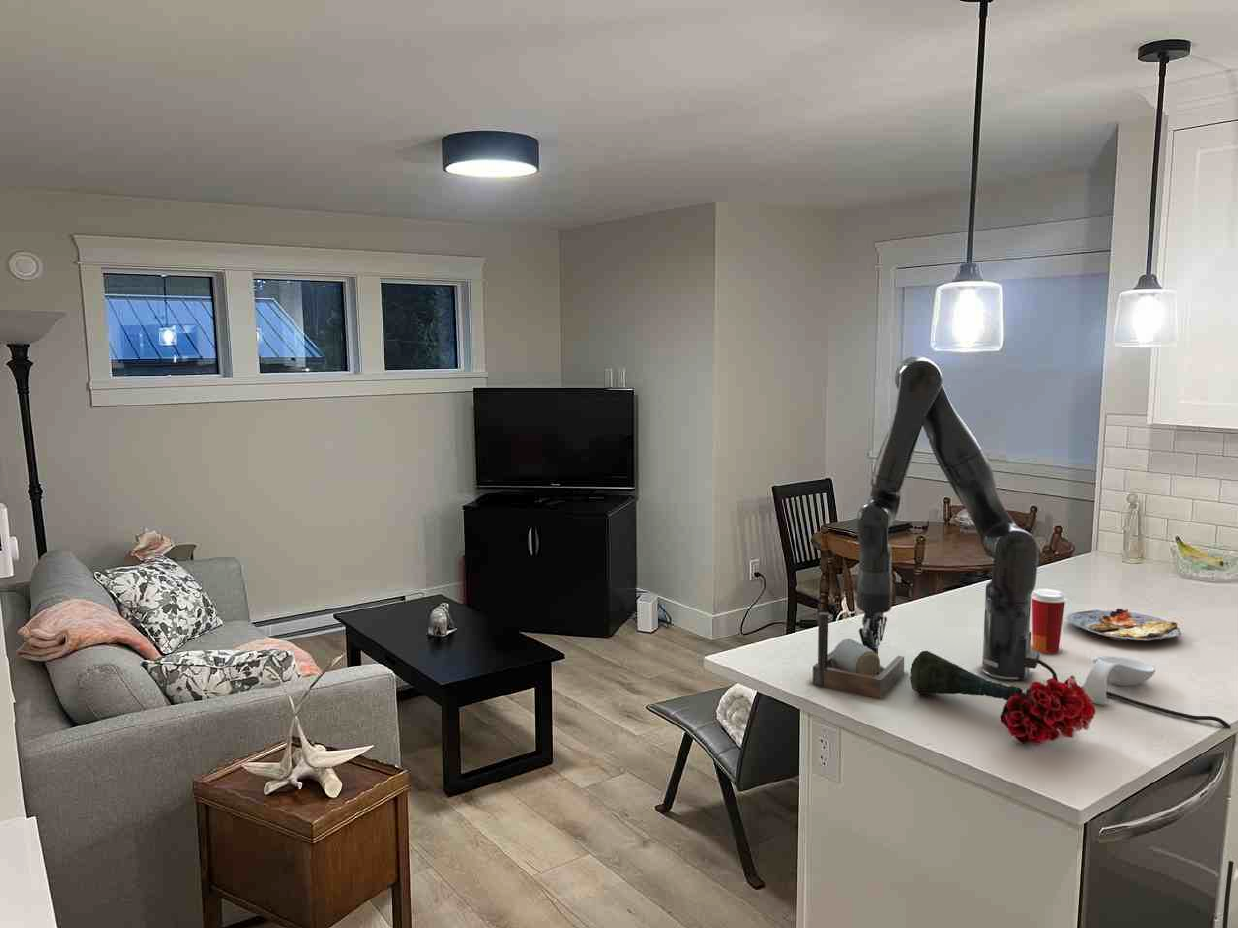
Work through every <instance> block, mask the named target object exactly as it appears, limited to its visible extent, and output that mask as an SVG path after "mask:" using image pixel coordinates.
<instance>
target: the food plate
mask: <svg viewBox="0 0 1238 928" xmlns="http://www.w3.org/2000/svg"><path fill="white" fill-rule="evenodd" d="M1065 619H1066V620H1067V621H1068V622H1069V623H1070V624H1071V625H1073V626H1076V627H1078V628H1080V629H1083V630H1085V631H1086V632H1091V633H1093V634H1096V635H1099V636H1102V637H1105V638H1110V639H1112V640H1116V641H1122V640H1124V641H1127V639H1129V640H1132V641H1152V640H1163V639H1169V638H1177V637H1181V635H1182V633H1181V629H1180V628H1179V627H1178V623H1177V622H1175V621H1166V620H1163V619H1161V618H1159V617H1154V616H1152V615H1148V614H1141V613H1135V612H1132V611H1129V609H1127V608H1125V609H1123V608H1116V610H1111V609H1110V610H1108V609H1107V610H1101V609H1094V610H1093V609H1092V610H1083V611H1075V612H1071V613H1069V614H1066V616H1065Z"/></svg>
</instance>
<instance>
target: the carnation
mask: <svg viewBox="0 0 1238 928" xmlns="http://www.w3.org/2000/svg"><path fill="white" fill-rule="evenodd" d="M909 679H910V684H911V688H912V690H913V691H915V692H916V693H917V694H925V695H927V694H929V695H931V694H934V695H935V694H937V695H939V694H941V695H959V694H960V695H968V696H981V697H982V696H986V697H991V698H995V699H1002V700H1004V701H1006V702H1005V703H1004V704H1003V708H1002V711H1001V714H1000V717H999V718H1000V723H1001V724H1003V725H1004V726H1005V727H1006V729H1007V731H1008V733H1009V735H1010V736H1012V737H1014V738H1015V739H1016V740H1017V741H1018V742H1019V743H1021V744H1023V745H1025V744H1029V743H1032V744H1034V745H1039V744H1043V743H1046V742H1047V741H1053V742H1054V741H1055V740H1057V739H1059V738H1060V733H1061V734H1062V735H1063V736H1064V737H1066V738H1070V739H1073V738H1074V736H1073V734H1074V733H1076V732H1080V731H1082V730H1087V731H1088V730H1089V729H1090V724H1091V723H1092V720H1094V719H1095V716H1096V712H1097V711H1096V708H1095V706H1094V705H1093V704H1094V703H1093V701H1092V698H1091V696H1090V694H1089V693H1088V691H1087V688H1086V687H1085V686H1084V685H1083V686H1080V685H1078V683H1077V680H1076V677H1075V676H1074V675H1073V674H1072V675H1070V677H1069V678H1067V679H1065V680H1064V681H1063V682H1062V681H1061V682H1060V681H1059V682H1057V681H1056V680H1055V679H1054V677H1053V676H1052V677H1051V678H1048V679H1046V685H1045V684H1043V683H1041V682H1040V681H1032V683H1031V685H1030V687H1029V688H1027V689H1026V691H1025V692H1023V691H1024V690H1023V689H1022V688H1021V686H1020V687H1019V686H1014V685H1006V684H1005V685H1004V684H1002V683H1001V682H994V681H992V680H988V679H986V678H984V677H981V676H979V675H977V674H974V673H973V672H970V671H968V670H967V669H965V668H963V667H961V666H959V665H957V664H955V663H953V662H951V661H949V660H947V659H945V658H943V657H941V656H939V655H937V654H935V653H933V652H931V651H929V650H922V651H920V652H919V654H917V656H916V657H915V658H914V659H913V661H912V663H911V667H910V678H909Z"/></svg>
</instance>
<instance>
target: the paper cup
mask: <svg viewBox="0 0 1238 928" xmlns="http://www.w3.org/2000/svg"><path fill="white" fill-rule="evenodd" d="M1066 602H1067V598H1066V595H1065V593H1064V592H1062V591H1060V590H1057V589H1051V588H1038V589H1034V590H1033V592H1032V595H1031V624H1032V625H1031V643H1032V651H1035V652H1039V654H1045V655H1054V654H1058V653H1059V651H1060V644H1061V643H1060V642H1061V637H1062V636H1061V635H1062V630H1063V629H1062V628H1063V620H1064V611H1065V604H1066Z"/></svg>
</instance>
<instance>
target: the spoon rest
mask: <svg viewBox="0 0 1238 928" xmlns="http://www.w3.org/2000/svg"><path fill="white" fill-rule="evenodd" d="M1092 663H1093V665H1092V667H1091V669H1090V671H1089V673H1088V676H1087V677H1086V680H1085V682H1084V685H1083V686H1085V687H1086V688H1087V691H1088V693H1089V694H1090V696H1091V698H1092V701H1093V703H1092V704H1097V705H1101V706H1107V695H1106V691H1107V682H1109V683H1111V684H1113V685H1117V686H1123V687H1134V686H1137V685H1139V684H1142V683H1145V682H1147V681H1148V680H1149V679H1151V678H1152V677H1153V676H1154V674H1155V673H1156V667H1154V666H1153V665H1151V664H1149V663H1147V662H1144V661H1140V660H1136V659H1132V658H1127V657H1121V656H1112V655H1110V656H1109V655H1101V656H1095V657H1093V658H1092Z"/></svg>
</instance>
